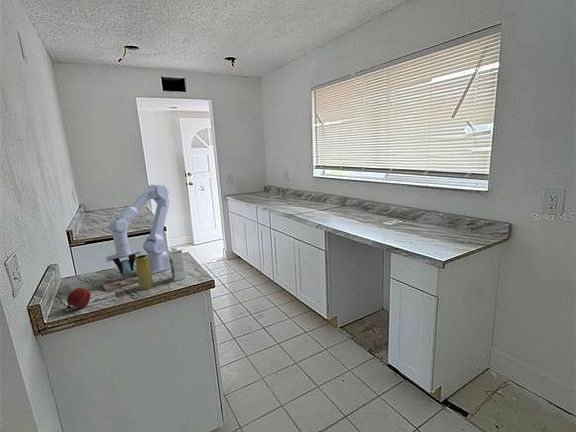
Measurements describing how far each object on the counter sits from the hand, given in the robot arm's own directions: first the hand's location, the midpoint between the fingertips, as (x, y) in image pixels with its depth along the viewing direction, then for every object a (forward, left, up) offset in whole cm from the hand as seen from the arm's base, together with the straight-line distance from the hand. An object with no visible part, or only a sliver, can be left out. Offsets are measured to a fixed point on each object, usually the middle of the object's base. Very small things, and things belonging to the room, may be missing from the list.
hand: (126, 271), depth 142 cm
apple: (+20, +14, -5) cm, 25 cm away
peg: (0, 0, -2) cm, 2 cm away
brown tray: (+3, 0, -5) cm, 5 cm away
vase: (-4, +14, -5) cm, 15 cm away
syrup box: (-19, +16, -5) cm, 25 cm away
